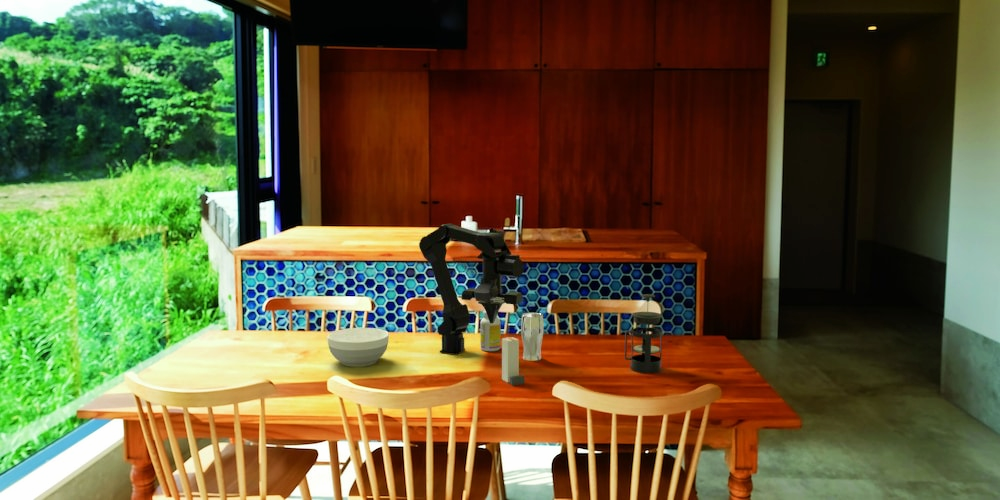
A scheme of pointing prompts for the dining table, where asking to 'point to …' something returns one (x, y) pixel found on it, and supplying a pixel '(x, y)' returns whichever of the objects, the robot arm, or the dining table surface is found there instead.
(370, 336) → the bowl
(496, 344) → the supplement bottle
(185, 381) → the dining table surface
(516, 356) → the white rectangular block
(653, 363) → the french press
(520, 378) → the console board
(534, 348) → the beer glass
